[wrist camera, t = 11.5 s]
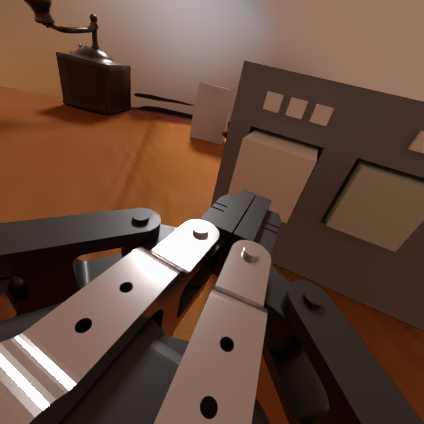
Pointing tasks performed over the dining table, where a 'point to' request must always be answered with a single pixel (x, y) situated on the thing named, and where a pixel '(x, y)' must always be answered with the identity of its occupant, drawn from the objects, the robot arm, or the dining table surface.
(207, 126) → the pale pink rectangular block
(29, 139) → the dining table surface
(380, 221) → the button sage
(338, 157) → the console
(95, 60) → the dark brown coffee grinder
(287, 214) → the button cream
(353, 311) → the dining table surface
